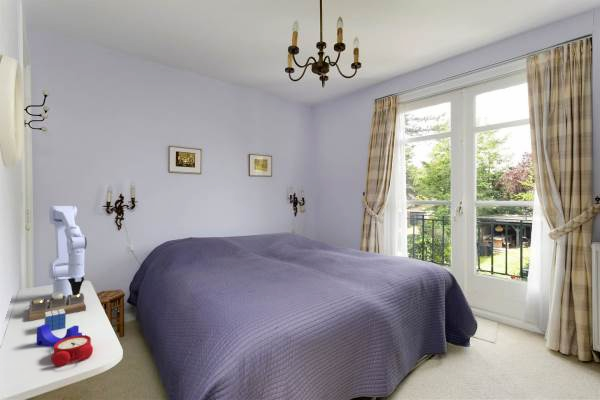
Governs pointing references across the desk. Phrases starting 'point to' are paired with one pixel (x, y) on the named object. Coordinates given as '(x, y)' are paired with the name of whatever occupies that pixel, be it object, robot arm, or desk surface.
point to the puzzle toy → (55, 319)
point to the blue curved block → (49, 339)
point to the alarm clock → (72, 350)
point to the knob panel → (56, 306)
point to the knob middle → (57, 295)
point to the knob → (38, 301)
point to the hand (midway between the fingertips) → (75, 294)
